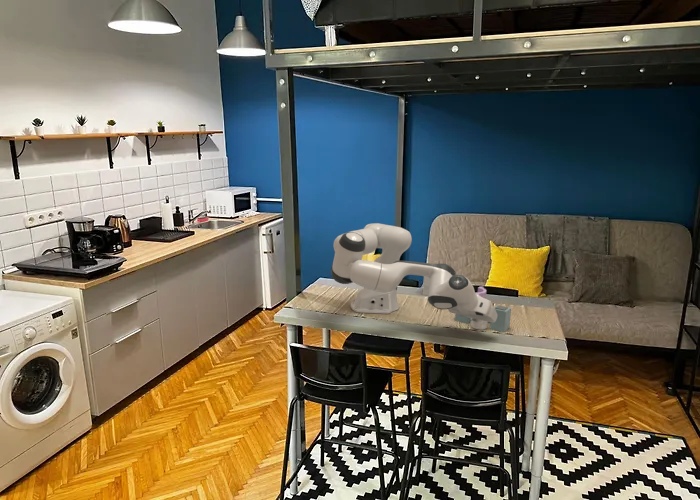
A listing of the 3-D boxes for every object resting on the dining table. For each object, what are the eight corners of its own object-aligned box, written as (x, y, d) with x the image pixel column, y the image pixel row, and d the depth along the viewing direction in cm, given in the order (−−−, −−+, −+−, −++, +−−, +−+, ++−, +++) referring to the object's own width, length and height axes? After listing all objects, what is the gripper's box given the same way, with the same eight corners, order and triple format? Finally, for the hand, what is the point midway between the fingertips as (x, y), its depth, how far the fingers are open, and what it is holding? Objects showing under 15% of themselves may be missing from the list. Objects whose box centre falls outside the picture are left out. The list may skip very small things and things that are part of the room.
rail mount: (504, 332, 208) (506, 310, 206) (454, 320, 220) (456, 299, 218) (510, 326, 214) (513, 305, 212) (462, 315, 227) (464, 295, 225)
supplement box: (444, 293, 259) (446, 265, 256) (439, 298, 251) (441, 269, 248) (427, 290, 263) (429, 263, 260) (422, 295, 255) (423, 266, 252)
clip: (481, 312, 231) (482, 298, 230) (454, 308, 236) (455, 294, 235) (487, 300, 250) (488, 287, 248) (462, 297, 254) (463, 284, 253)
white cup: (487, 324, 217) (489, 302, 214) (489, 330, 209) (491, 308, 207) (468, 322, 218) (470, 300, 215) (470, 329, 210) (472, 306, 208)
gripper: (441, 304, 204) (450, 320, 214) (489, 315, 192) (496, 332, 202) (446, 291, 207) (455, 308, 216) (494, 301, 195) (501, 319, 204)
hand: (475, 320), depth 209 cm, fingers closed
